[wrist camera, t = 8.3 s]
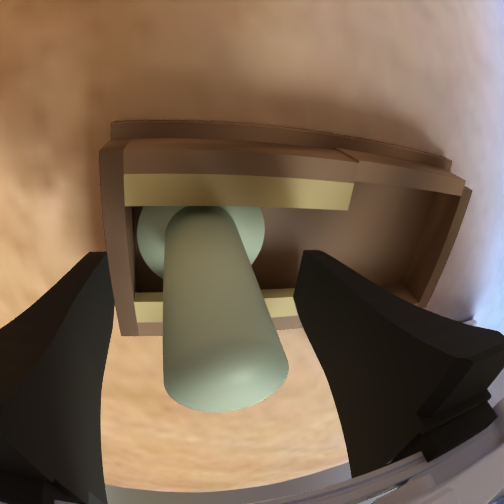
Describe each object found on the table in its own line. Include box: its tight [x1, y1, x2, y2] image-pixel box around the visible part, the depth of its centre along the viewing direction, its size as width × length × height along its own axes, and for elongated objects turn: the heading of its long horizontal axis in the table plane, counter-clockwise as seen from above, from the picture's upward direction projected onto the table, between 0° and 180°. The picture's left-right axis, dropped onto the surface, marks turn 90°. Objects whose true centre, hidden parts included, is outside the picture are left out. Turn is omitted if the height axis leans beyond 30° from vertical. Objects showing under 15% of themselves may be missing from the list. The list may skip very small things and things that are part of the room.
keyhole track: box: [99, 120, 472, 336], centre depth 14 cm, size 16×9×2 cm, turn 83°
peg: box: [137, 206, 289, 412], centre depth 10 cm, size 5×5×8 cm
